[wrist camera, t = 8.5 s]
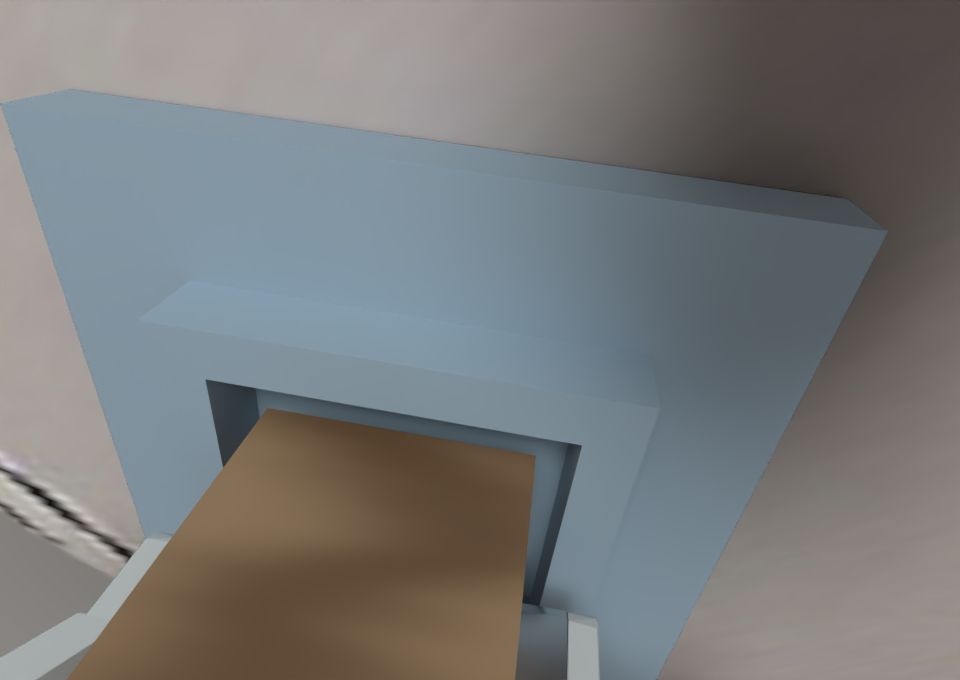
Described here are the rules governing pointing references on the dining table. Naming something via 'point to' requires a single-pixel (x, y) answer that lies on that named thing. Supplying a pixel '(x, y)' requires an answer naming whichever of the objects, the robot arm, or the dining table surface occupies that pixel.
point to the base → (448, 323)
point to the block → (335, 564)
